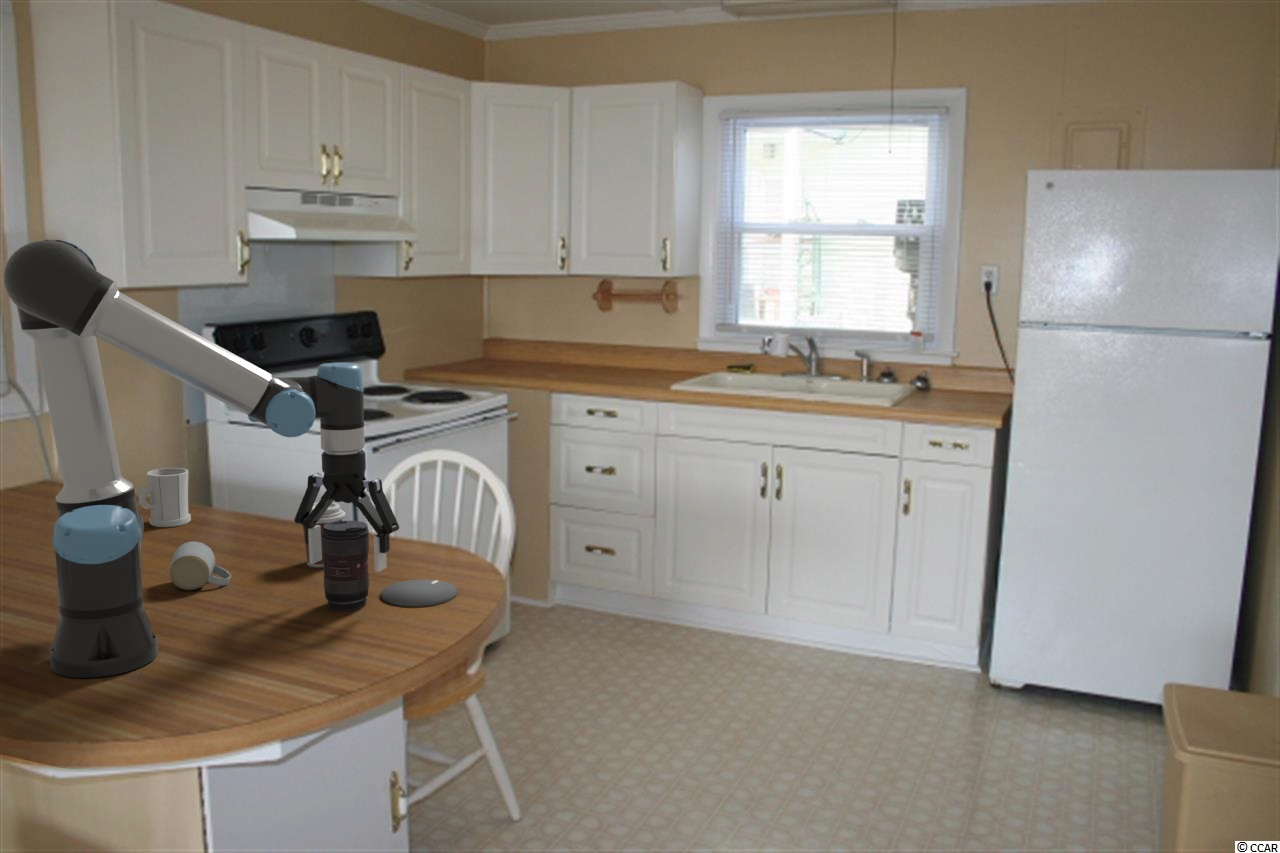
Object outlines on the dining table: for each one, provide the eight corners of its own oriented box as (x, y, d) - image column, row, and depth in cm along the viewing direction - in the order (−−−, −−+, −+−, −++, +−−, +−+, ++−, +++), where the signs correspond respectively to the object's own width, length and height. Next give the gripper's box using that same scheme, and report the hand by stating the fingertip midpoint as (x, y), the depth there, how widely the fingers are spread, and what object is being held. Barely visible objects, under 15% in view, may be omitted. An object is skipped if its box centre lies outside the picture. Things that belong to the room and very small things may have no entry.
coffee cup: (312, 572, 216) (310, 513, 214) (292, 561, 222) (290, 504, 220) (354, 564, 222) (353, 506, 219) (334, 553, 228) (332, 498, 226)
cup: (178, 530, 244) (175, 477, 242) (137, 529, 244) (134, 477, 242) (197, 518, 254) (195, 468, 252) (158, 517, 254) (156, 467, 252)
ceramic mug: (168, 593, 201) (167, 553, 200) (173, 580, 209) (172, 541, 208) (229, 590, 204) (228, 551, 203) (232, 577, 212) (231, 539, 211)
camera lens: (379, 605, 197) (377, 525, 195) (339, 615, 192) (337, 533, 189) (354, 594, 203) (352, 516, 200) (315, 604, 197) (313, 524, 194)
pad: (433, 610, 195) (433, 607, 195) (366, 601, 199) (366, 597, 199) (470, 587, 208) (470, 584, 208) (406, 579, 213) (406, 575, 212)
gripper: (416, 451, 192) (419, 567, 196) (296, 441, 200) (302, 552, 204) (393, 459, 185) (397, 579, 189) (270, 449, 193) (276, 564, 197)
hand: (347, 565), depth 196 cm, fingers open, 13 cm apart
